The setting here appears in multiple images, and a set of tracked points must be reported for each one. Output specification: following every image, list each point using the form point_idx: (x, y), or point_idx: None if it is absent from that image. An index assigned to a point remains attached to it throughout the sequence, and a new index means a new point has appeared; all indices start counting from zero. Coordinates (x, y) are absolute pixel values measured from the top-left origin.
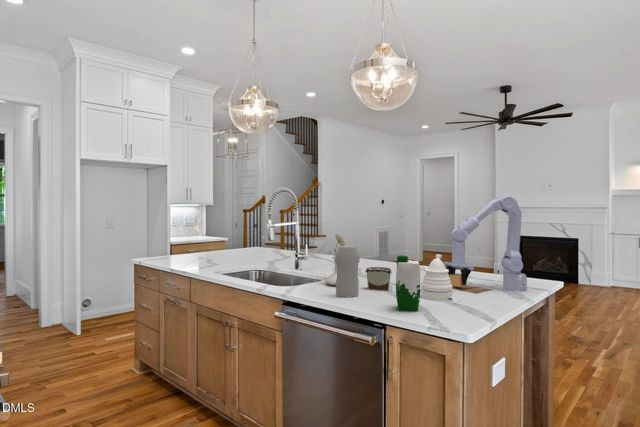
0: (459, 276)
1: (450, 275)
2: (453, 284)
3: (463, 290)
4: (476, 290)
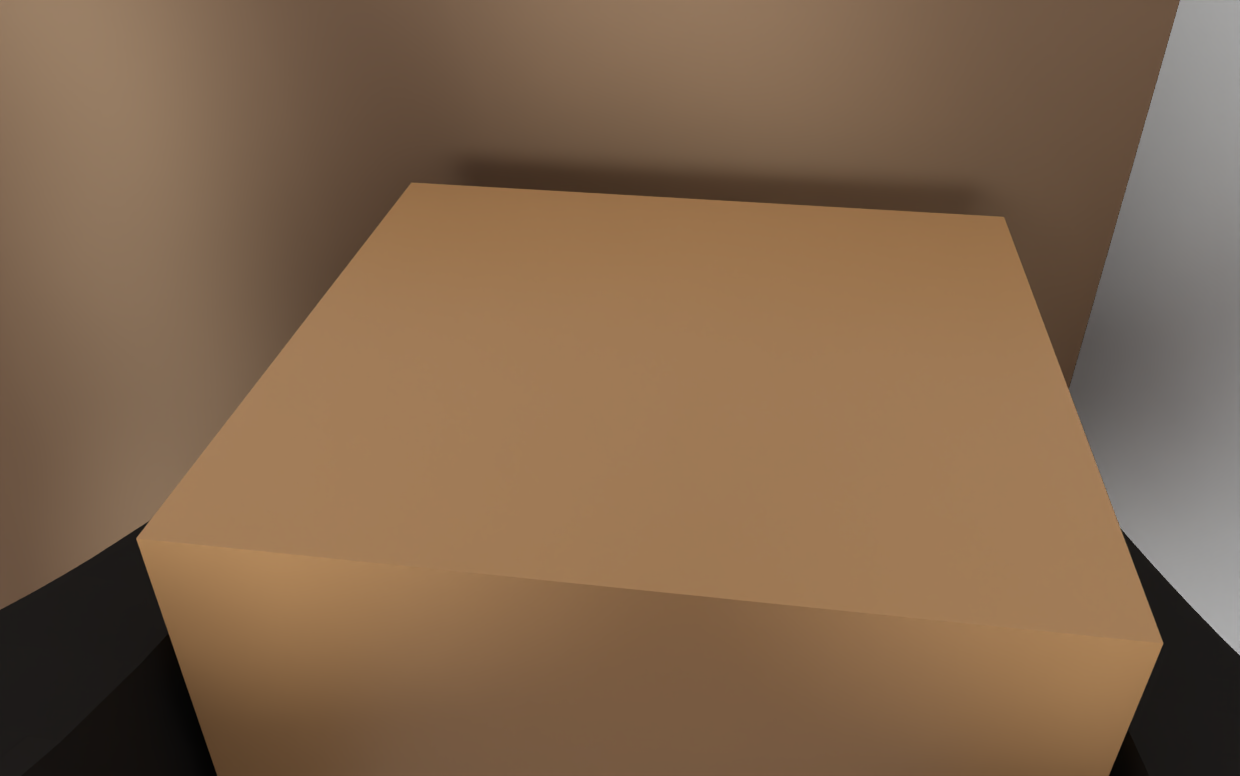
0: (193, 526)
1: (1055, 583)
2: (762, 237)
3: (237, 90)
4: (54, 431)
